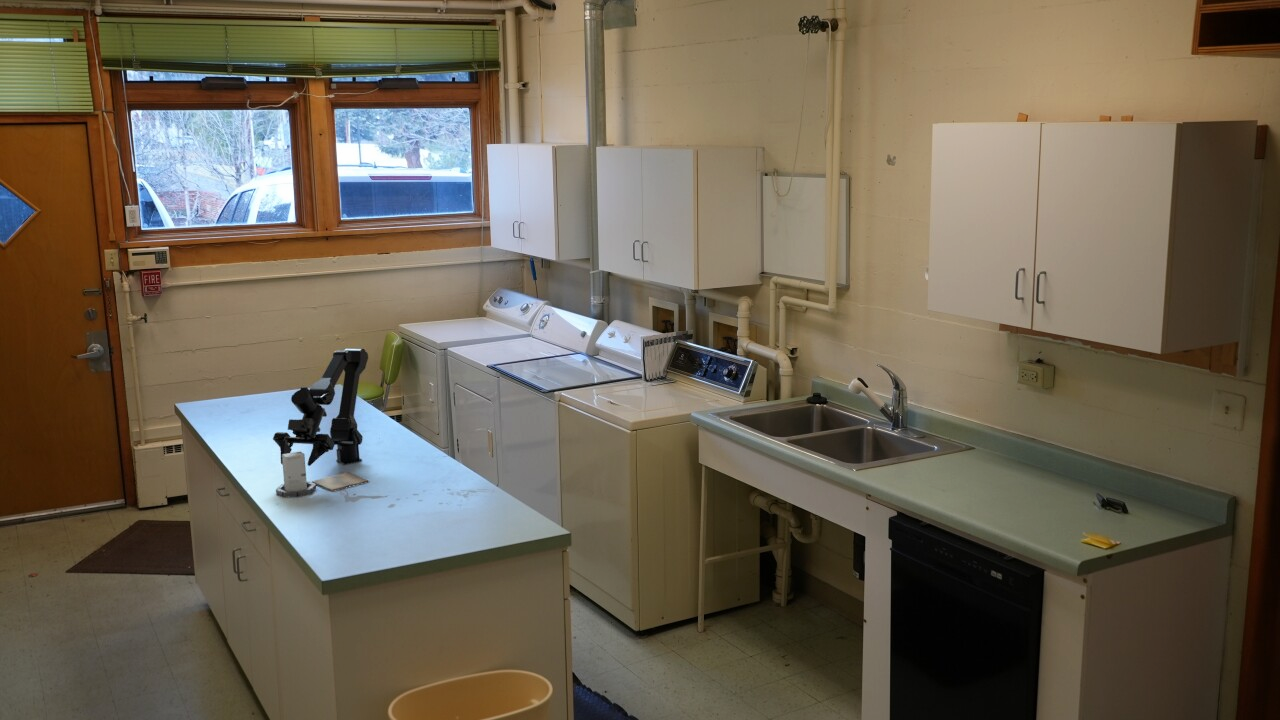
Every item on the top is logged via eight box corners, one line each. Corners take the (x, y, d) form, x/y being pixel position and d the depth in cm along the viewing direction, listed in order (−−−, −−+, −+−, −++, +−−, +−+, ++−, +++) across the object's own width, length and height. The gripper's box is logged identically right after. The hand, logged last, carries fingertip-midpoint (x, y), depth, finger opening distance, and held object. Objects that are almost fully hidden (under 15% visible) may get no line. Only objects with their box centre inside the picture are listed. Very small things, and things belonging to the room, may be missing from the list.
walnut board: (348, 474, 362) (348, 472, 361) (369, 482, 352) (368, 480, 352) (311, 483, 353) (311, 481, 353) (331, 491, 344) (331, 489, 343)
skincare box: (288, 495, 341) (284, 457, 339) (284, 491, 345) (280, 454, 342) (308, 491, 344) (305, 453, 342) (304, 487, 348) (300, 450, 346)
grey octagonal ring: (304, 483, 352) (304, 479, 352) (321, 490, 344) (321, 486, 344) (271, 491, 345) (270, 487, 345) (287, 499, 337) (287, 494, 337)
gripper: (273, 407, 348) (256, 450, 339) (326, 409, 343) (311, 453, 335) (289, 425, 357) (273, 468, 348) (341, 427, 352) (326, 470, 344)
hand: (295, 464), depth 344 cm, fingers open, 9 cm apart
